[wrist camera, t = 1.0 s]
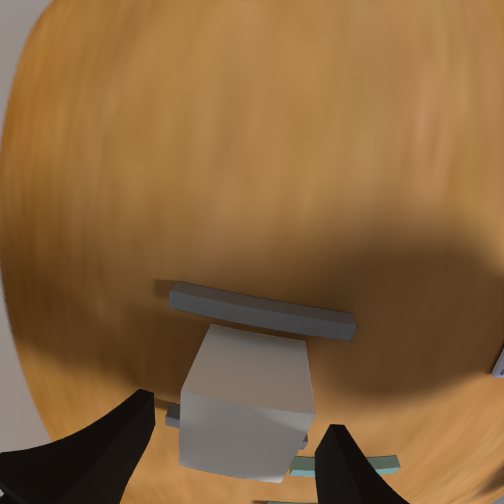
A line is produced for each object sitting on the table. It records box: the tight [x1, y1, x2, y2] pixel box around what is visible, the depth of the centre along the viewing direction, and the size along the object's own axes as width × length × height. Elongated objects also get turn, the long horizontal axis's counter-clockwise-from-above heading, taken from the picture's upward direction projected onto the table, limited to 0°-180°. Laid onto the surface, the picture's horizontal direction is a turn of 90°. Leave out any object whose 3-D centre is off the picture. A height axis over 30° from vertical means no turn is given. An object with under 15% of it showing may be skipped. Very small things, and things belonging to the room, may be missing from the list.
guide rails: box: [166, 281, 400, 504], centre depth 14 cm, size 16×20×1 cm
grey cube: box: [179, 324, 316, 483], centre depth 11 cm, size 4×5×5 cm
